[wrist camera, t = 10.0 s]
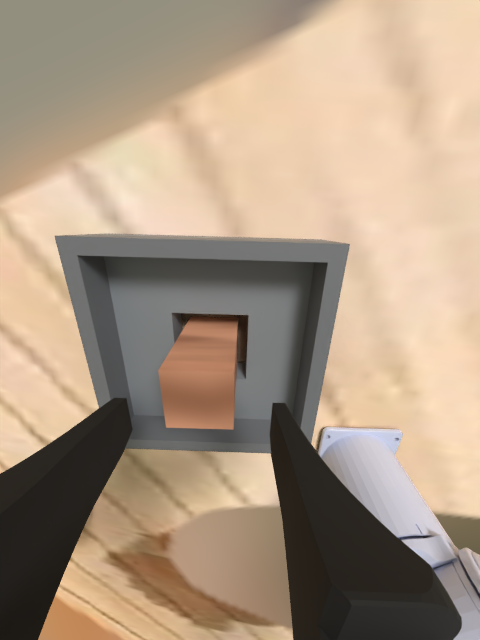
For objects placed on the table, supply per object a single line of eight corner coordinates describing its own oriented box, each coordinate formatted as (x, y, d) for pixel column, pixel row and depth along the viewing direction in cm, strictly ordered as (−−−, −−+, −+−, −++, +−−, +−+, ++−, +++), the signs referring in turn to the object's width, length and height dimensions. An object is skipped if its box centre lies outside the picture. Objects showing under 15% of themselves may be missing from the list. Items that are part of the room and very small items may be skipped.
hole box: (295, 408, 23) (308, 454, 18) (136, 403, 23) (109, 447, 18) (320, 239, 17) (349, 244, 12) (106, 233, 17) (54, 235, 12)
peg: (237, 358, 21) (233, 429, 14) (193, 356, 21) (165, 427, 14) (238, 317, 19) (234, 372, 12) (191, 316, 19) (158, 370, 12)
